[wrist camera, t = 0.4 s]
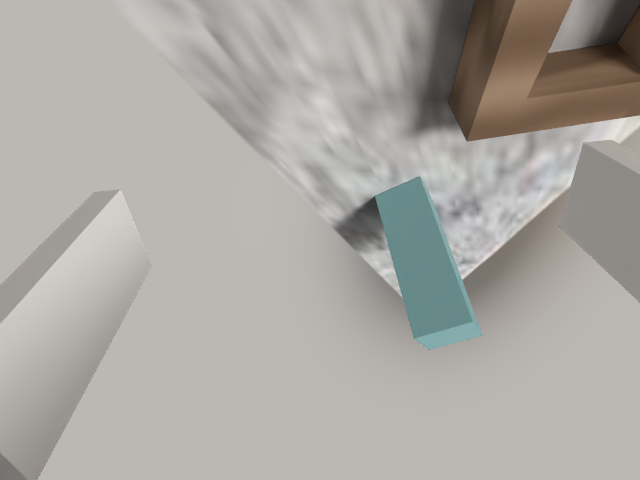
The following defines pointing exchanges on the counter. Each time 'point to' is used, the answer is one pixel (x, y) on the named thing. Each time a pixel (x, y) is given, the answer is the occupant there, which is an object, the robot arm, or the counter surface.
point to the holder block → (539, 72)
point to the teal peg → (425, 267)
